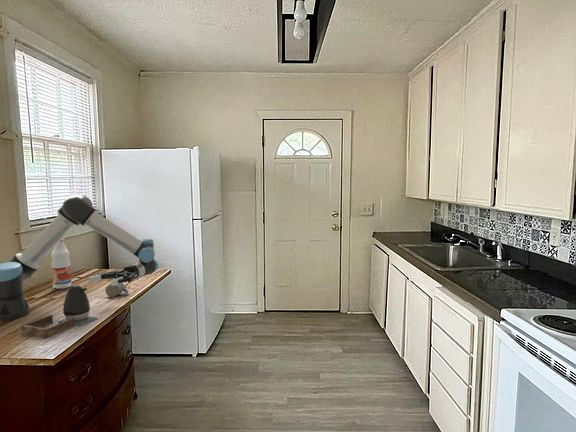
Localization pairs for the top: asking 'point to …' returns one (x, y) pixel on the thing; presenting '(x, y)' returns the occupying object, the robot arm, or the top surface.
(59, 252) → the fruit juice
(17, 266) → the robot arm
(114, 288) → the ceramic mug
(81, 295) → the pump dispenser
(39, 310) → the top surface
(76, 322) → the grey mat
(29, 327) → the walnut caddy
